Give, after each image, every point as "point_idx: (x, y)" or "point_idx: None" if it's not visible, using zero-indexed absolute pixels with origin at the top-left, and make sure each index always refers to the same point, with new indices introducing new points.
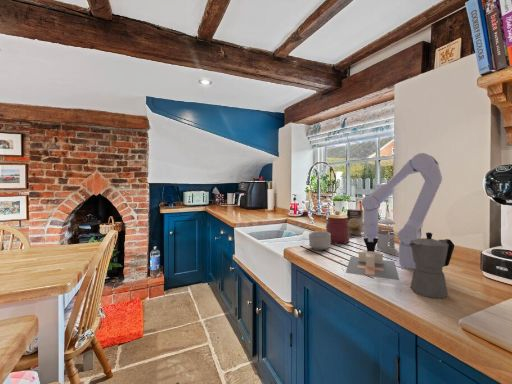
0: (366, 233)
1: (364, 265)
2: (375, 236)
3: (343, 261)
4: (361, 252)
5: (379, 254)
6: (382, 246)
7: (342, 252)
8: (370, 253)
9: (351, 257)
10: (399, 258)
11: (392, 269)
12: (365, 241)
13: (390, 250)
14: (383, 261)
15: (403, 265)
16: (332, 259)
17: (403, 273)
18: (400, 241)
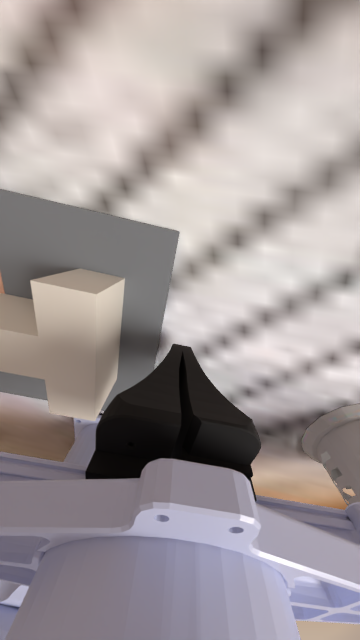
0: (40, 597)
1: (14, 288)
2: (19, 572)
3: (59, 155)
4: (35, 302)
5: (49, 397)
6: (347, 444)
7: (323, 175)
8: (26, 356)
9: (155, 233)
10: (94, 446)
11: (25, 386)
12: (113, 404)
13: (311, 448)
14: (128, 384)
15: (84, 428)
16: (74, 26)
17: (18, 404)
18: (14, 589)
